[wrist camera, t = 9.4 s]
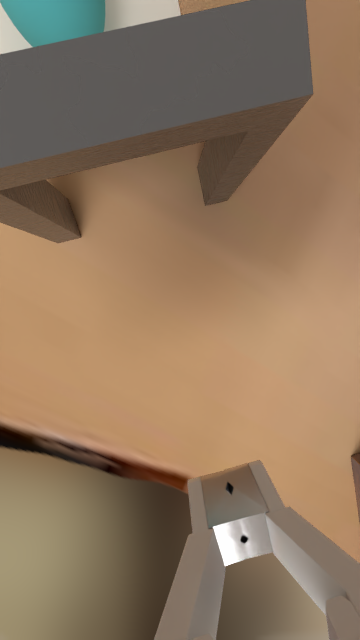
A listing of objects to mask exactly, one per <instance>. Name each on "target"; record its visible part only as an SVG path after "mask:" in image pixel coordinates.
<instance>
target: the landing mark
mask: <svg viewBox="0 0 360 640" xmlns="http://www.w3.org/2000/svg"><path fill="white" fill-rule="evenodd" d="M180 15H181V13H180V8H179V3H178V0H105V26H104V32H106V31H111V30H115V29H120V28H125V27H129V26H134V25H139V24H143V23H148V22H153V21H157V20H162V19H166V18H171V17H176V16H180ZM27 48H32V46H31V45H30V44H29V43H28V42H27V41H26V40H25V38H24V37H23V36H22V35H21V33H20V32H19V31H18V30H17V28H16V27H15V26H14V24H13V23H12V21H11V20H10V18H9V17H8V15H7V13H6V12H5V10H4V9H3V7H2V5H1V3H0V54H4V53H9V52H13V51H18V50H23V49H27Z"/></svg>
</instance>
